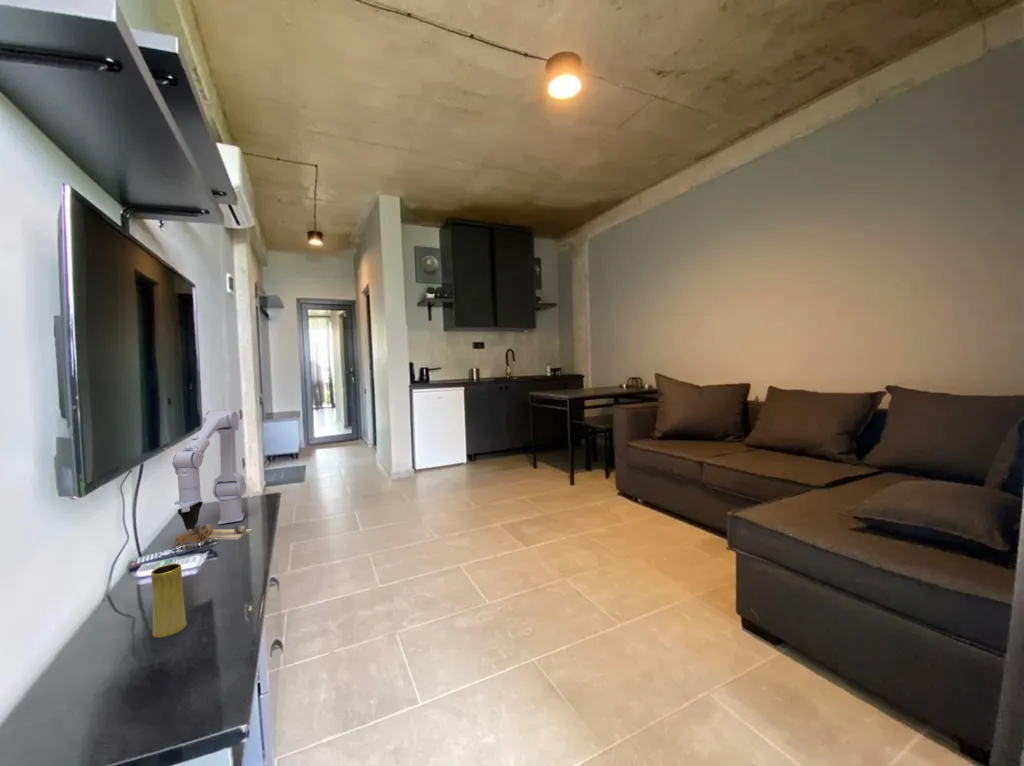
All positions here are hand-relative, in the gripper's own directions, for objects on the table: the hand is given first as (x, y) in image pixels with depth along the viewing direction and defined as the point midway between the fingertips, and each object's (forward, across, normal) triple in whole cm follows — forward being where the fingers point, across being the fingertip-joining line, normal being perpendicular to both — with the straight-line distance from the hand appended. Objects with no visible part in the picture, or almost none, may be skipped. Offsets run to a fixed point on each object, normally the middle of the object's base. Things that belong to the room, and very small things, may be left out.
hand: (191, 526), depth 140 cm
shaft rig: (+7, -9, +6) cm, 13 cm away
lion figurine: (+8, 0, 0) cm, 8 cm away
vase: (+8, +53, +5) cm, 54 cm away
